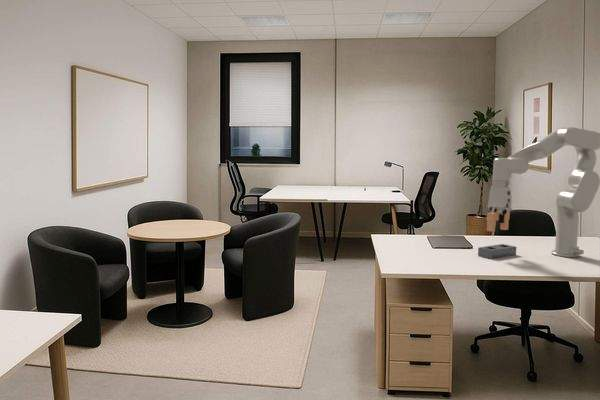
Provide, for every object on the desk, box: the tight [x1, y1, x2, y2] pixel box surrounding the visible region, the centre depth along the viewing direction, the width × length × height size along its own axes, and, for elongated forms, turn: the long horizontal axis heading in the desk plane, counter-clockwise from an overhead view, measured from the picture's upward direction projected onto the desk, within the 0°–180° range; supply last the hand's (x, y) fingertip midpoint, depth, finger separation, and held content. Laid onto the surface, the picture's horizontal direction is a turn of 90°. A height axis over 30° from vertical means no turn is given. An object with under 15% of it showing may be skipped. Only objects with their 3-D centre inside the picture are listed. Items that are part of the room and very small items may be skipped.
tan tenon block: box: [486, 211, 511, 232], centre depth 269 cm, size 3×13×8 cm, turn 123°
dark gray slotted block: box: [477, 243, 517, 260], centre depth 271 cm, size 8×18×4 cm, turn 124°
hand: (498, 221), depth 269 cm, fingers closed on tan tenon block, 3 cm apart
